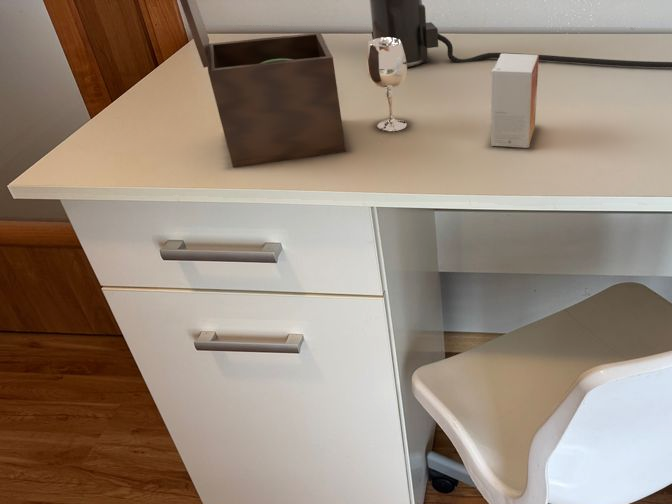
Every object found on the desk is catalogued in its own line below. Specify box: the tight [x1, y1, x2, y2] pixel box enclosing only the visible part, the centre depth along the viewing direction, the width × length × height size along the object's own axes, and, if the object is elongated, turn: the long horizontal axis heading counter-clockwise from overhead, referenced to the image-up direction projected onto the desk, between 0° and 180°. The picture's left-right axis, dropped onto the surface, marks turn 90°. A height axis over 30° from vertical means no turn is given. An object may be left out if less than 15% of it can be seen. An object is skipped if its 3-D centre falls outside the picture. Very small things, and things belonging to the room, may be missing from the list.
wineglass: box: [365, 37, 408, 132], centre depth 98 cm, size 6×6×12 cm
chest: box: [207, 32, 347, 168], centre depth 94 cm, size 16×12×13 cm
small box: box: [490, 52, 540, 149], centre depth 95 cm, size 8×6×10 cm
